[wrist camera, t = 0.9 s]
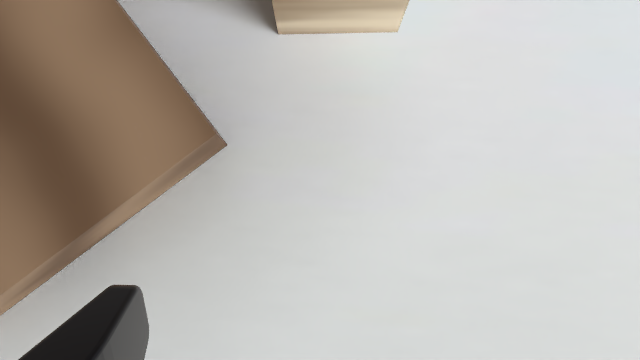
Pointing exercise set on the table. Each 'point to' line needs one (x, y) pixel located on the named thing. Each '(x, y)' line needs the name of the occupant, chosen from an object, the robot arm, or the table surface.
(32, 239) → the walnut base block
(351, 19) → the birch block
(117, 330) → the robot arm
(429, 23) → the table surface
